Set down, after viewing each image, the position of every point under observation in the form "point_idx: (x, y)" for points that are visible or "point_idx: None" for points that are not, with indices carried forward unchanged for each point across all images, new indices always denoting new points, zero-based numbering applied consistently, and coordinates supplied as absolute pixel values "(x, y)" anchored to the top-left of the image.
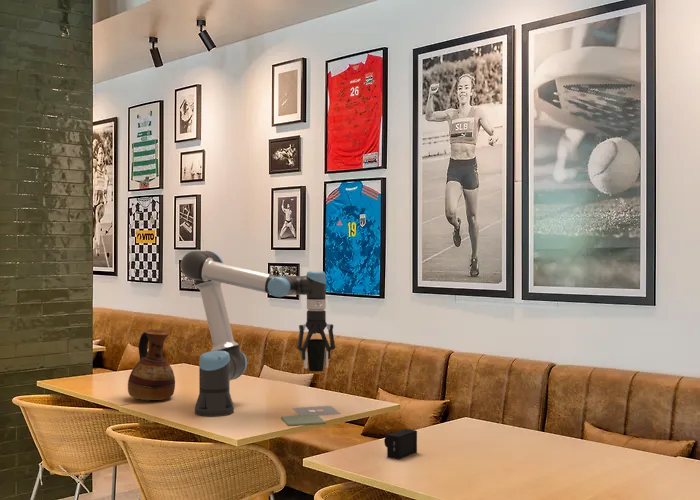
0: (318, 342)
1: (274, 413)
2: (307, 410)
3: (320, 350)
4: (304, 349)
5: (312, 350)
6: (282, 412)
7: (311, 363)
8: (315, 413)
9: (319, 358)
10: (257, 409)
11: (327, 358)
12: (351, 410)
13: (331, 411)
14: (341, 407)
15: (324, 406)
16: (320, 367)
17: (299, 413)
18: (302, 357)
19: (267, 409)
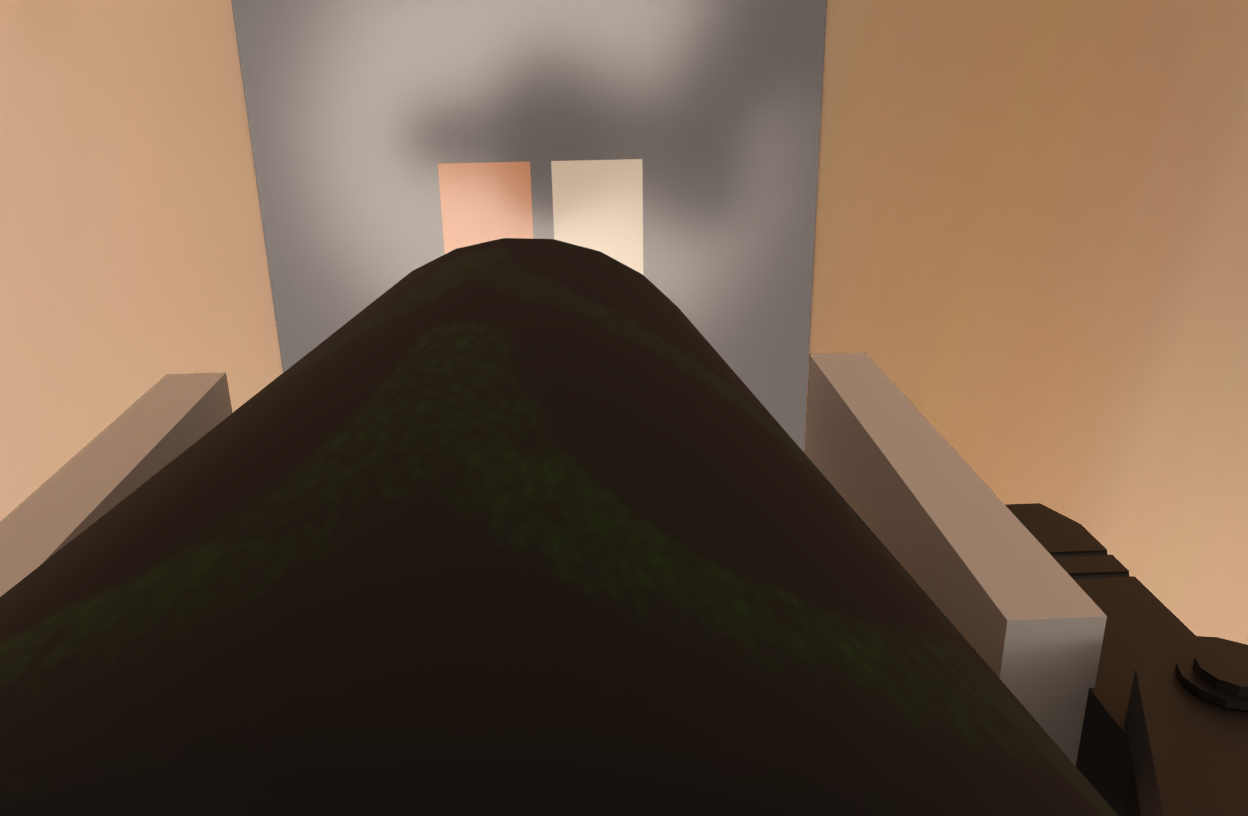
0: (328, 684)
1: (1102, 210)
2: (653, 270)
3: (295, 414)
4: (1241, 721)
5: (817, 489)
6: (989, 245)
7: (722, 358)
8: (589, 45)
9: (425, 309)
10: (1210, 490)
11: (54, 496)
12: (38, 128)
13: (341, 119)
14: (164, 361)
15: None
16: (421, 272)
17: (802, 107)
18: (1099, 546)
19: (1103, 463)
